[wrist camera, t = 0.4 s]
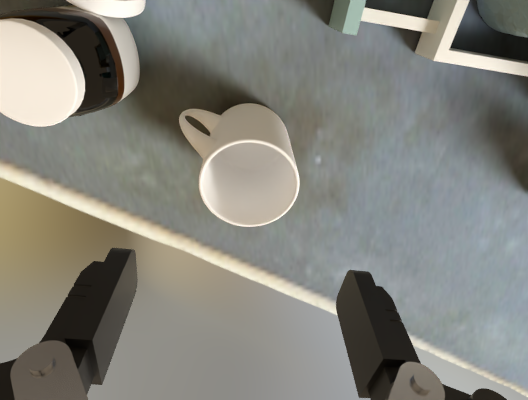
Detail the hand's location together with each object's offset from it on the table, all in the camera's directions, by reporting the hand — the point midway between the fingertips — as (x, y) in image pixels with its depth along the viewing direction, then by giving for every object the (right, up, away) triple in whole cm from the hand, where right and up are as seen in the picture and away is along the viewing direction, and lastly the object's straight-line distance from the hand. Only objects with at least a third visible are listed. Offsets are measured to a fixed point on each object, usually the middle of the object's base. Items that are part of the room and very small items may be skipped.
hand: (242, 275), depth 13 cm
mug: (-2, +11, +24) cm, 27 cm away
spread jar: (-15, +19, +19) cm, 30 cm away
